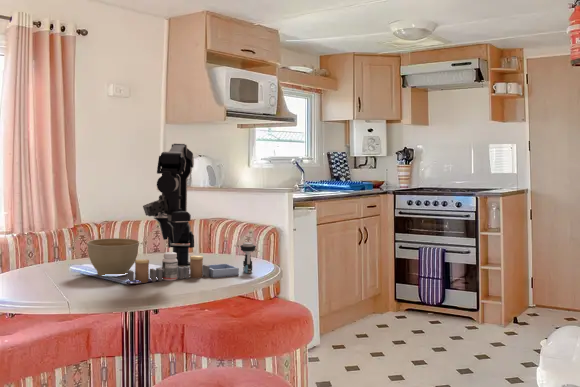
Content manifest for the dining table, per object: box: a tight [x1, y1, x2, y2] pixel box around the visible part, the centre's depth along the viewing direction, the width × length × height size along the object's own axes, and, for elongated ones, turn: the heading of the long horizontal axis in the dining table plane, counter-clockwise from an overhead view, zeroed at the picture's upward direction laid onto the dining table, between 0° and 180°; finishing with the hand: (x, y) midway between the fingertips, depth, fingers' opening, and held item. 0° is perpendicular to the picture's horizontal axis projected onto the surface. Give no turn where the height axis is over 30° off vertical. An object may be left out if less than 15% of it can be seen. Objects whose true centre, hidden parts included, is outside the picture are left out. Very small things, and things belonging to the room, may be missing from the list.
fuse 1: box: [134, 258, 150, 284], centre depth 177 cm, size 4×4×7 cm
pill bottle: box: [161, 251, 179, 282], centre depth 182 cm, size 5×5×8 cm
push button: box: [239, 241, 257, 274], centre depth 197 cm, size 7×5×10 cm
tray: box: [202, 263, 240, 279], centre depth 192 cm, size 9×9×2 cm
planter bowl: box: [86, 237, 140, 277], centre depth 186 cm, size 16×16×11 cm
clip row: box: [127, 264, 210, 282], centre depth 182 cm, size 3×26×4 cm, turn 122°
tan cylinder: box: [189, 255, 204, 279], centre depth 187 cm, size 4×4×7 cm
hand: (170, 241), depth 181 cm, fingers open, 9 cm apart
